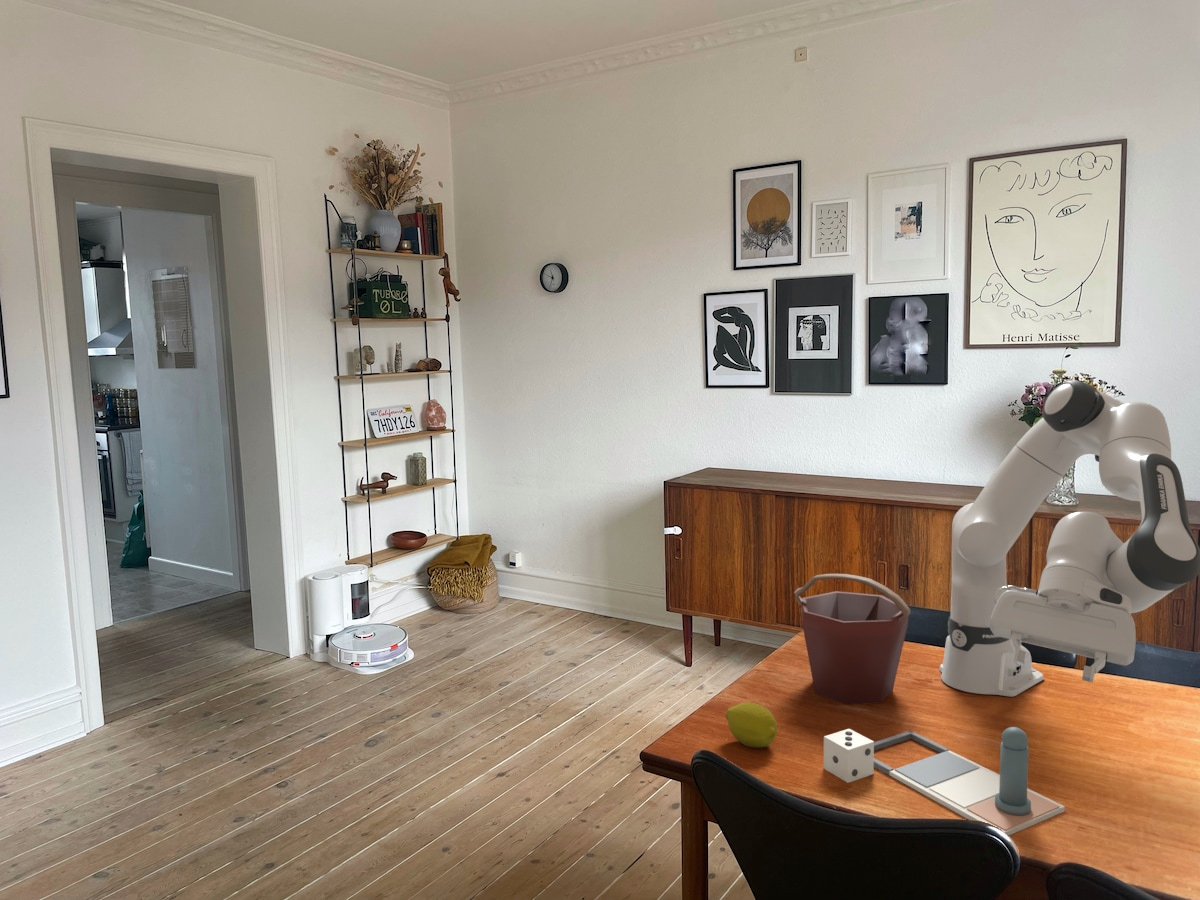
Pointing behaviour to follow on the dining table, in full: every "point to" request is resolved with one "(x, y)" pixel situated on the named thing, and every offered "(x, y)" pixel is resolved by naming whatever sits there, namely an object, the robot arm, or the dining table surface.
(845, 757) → the die
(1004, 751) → the pawn
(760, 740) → the lemon
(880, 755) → the dining table surface
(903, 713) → the dining table surface
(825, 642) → the bucket
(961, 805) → the game board
